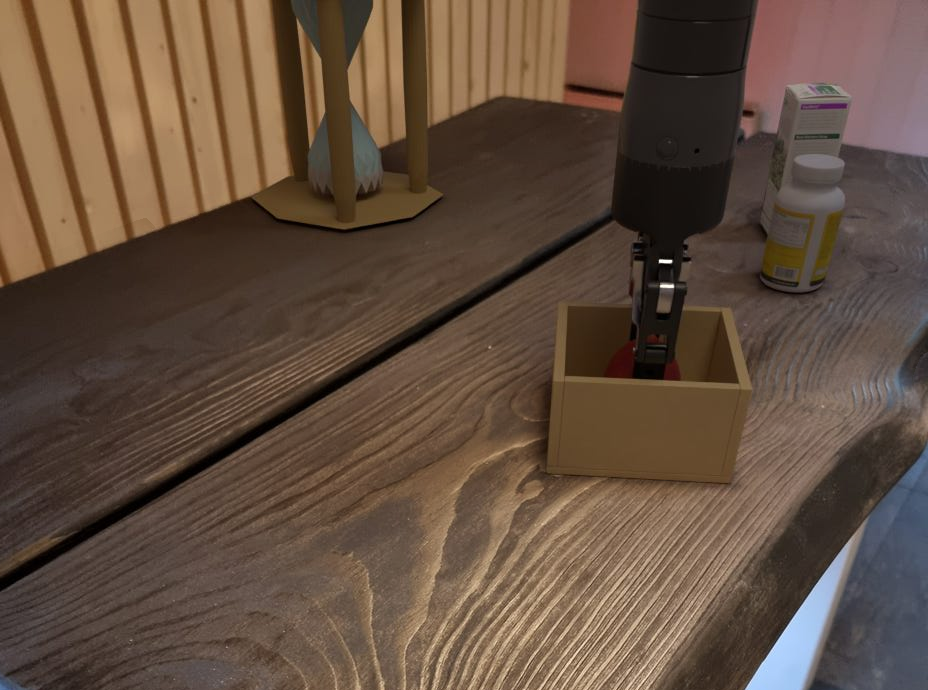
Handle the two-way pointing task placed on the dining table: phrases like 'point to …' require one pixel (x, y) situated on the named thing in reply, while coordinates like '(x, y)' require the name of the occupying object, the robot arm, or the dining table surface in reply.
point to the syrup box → (804, 133)
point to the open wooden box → (646, 399)
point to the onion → (624, 363)
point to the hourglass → (347, 122)
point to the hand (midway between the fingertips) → (642, 383)
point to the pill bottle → (804, 225)
